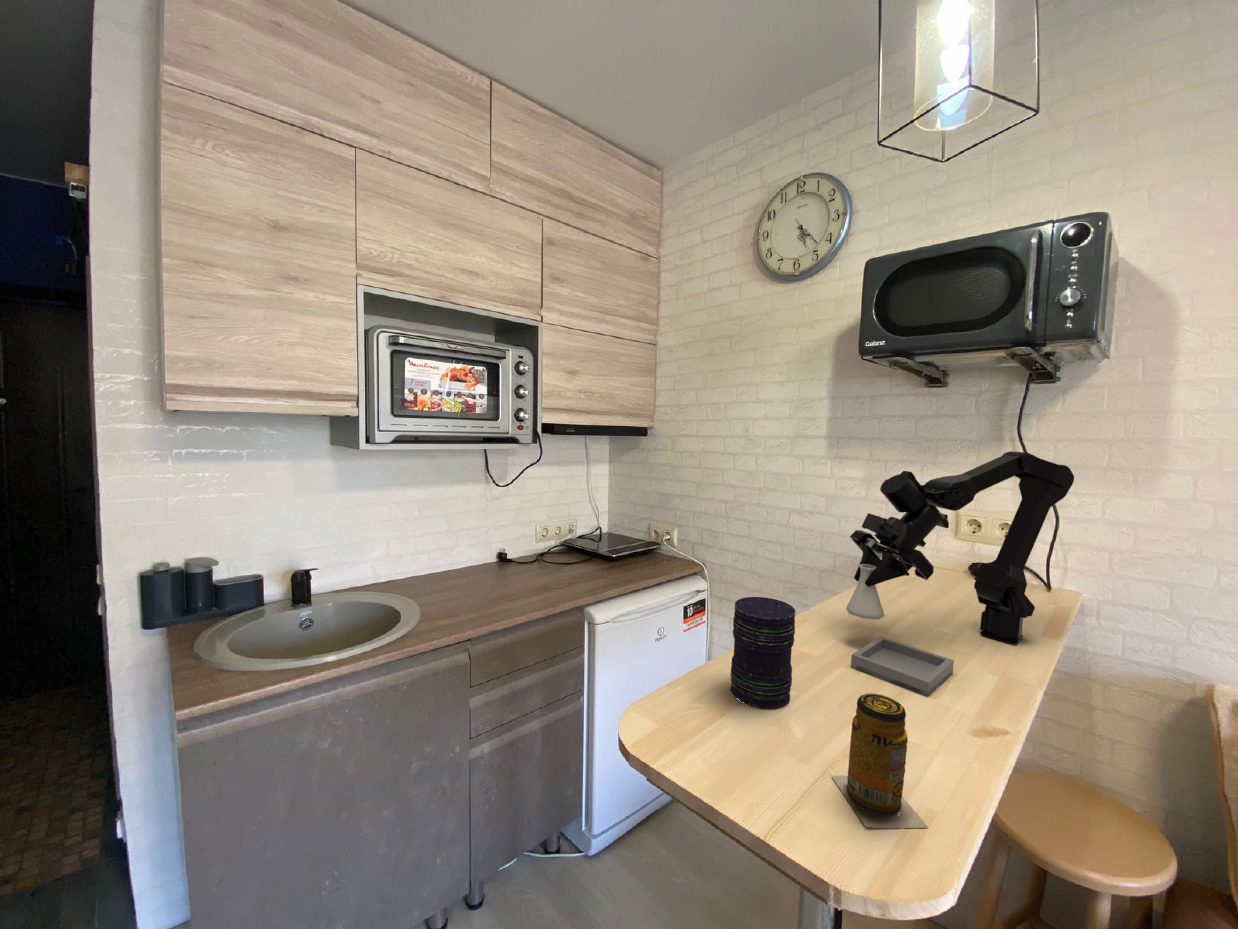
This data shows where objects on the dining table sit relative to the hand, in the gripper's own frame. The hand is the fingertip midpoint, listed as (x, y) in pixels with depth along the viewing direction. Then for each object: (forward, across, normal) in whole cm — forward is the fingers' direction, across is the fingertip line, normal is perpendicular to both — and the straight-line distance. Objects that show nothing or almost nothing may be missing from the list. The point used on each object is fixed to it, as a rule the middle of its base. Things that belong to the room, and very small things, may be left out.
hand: (860, 582), depth 104 cm
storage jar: (+29, +15, -11) cm, 35 cm away
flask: (+4, 0, +6) cm, 7 cm away
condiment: (+27, +40, -8) cm, 49 cm away
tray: (+8, +11, +11) cm, 17 cm away
